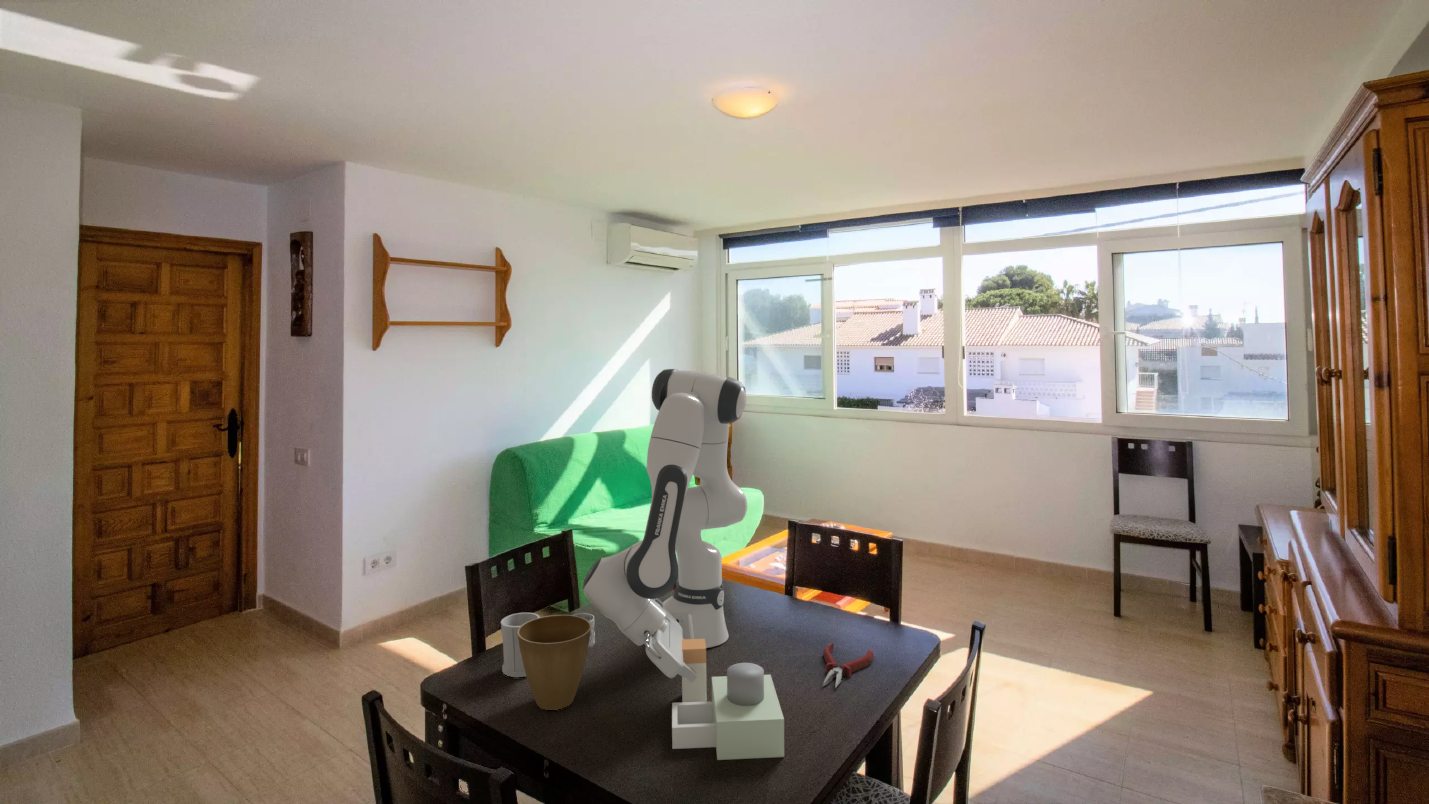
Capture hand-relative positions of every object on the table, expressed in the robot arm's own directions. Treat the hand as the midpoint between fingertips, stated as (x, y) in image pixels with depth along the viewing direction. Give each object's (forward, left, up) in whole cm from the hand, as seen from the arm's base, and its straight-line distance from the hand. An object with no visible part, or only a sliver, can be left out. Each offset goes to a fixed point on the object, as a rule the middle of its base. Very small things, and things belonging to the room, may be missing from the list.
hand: (693, 667), depth 140 cm
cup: (-42, -5, -7) cm, 42 cm away
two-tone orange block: (0, 0, -7) cm, 7 cm away
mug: (-41, +13, -7) cm, 43 cm away
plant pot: (-26, -13, -7) cm, 30 cm away
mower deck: (+11, -8, -7) cm, 16 cm away
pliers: (+22, +27, -8) cm, 36 cm away
